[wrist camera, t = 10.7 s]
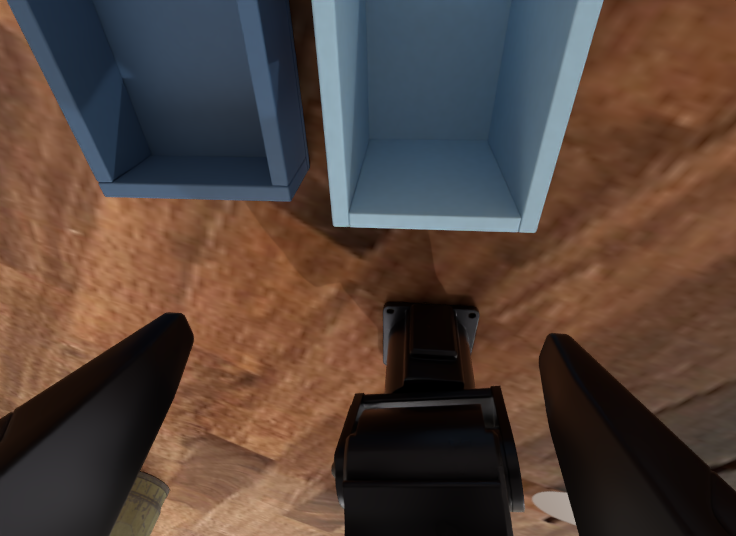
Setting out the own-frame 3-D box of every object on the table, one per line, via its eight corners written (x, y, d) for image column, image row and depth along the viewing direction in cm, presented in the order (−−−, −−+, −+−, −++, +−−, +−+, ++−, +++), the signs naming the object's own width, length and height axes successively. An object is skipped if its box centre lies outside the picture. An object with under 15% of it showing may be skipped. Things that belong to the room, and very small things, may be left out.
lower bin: (310, 167, 21) (291, 202, 18) (149, 165, 22) (104, 197, 18) (255, -267, 12) (198, -352, 9) (-12, -241, 13) (-151, -311, 10)
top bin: (496, 148, 19) (536, 233, 13) (359, 146, 20) (332, 227, 13) (566, -232, 12) (742, -471, 5) (344, -214, 12) (271, -409, 6)
